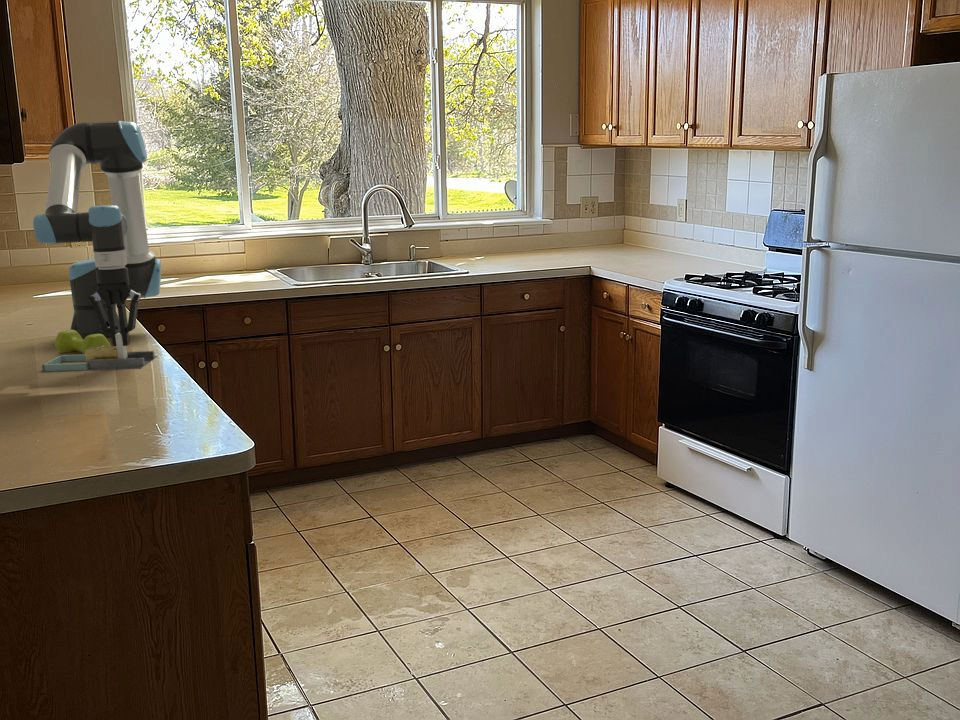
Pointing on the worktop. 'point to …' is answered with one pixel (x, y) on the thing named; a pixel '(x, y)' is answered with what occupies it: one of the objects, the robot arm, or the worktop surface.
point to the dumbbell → (78, 341)
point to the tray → (55, 365)
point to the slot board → (123, 361)
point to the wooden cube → (109, 353)
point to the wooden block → (93, 353)
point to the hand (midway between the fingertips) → (122, 358)
